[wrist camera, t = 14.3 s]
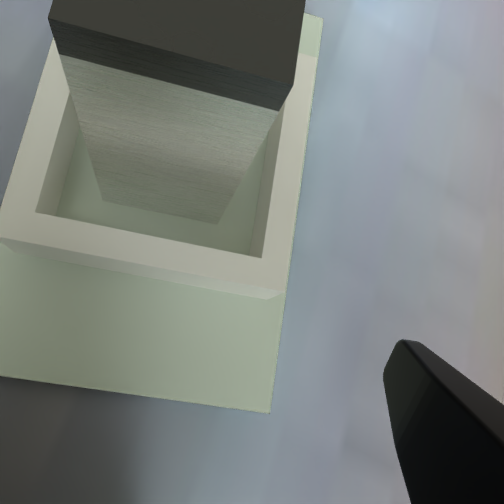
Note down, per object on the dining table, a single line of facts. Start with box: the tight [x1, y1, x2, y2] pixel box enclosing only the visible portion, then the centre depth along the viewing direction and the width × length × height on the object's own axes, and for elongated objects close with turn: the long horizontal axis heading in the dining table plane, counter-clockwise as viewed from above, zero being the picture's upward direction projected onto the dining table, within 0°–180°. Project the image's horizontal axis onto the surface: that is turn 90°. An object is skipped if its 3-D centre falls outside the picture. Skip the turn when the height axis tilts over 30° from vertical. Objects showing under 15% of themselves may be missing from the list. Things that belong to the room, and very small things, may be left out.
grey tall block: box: [48, 0, 306, 225], centre depth 14 cm, size 4×4×10 cm
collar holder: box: [0, 13, 323, 414], centre depth 17 cm, size 18×11×3 cm, turn 171°
